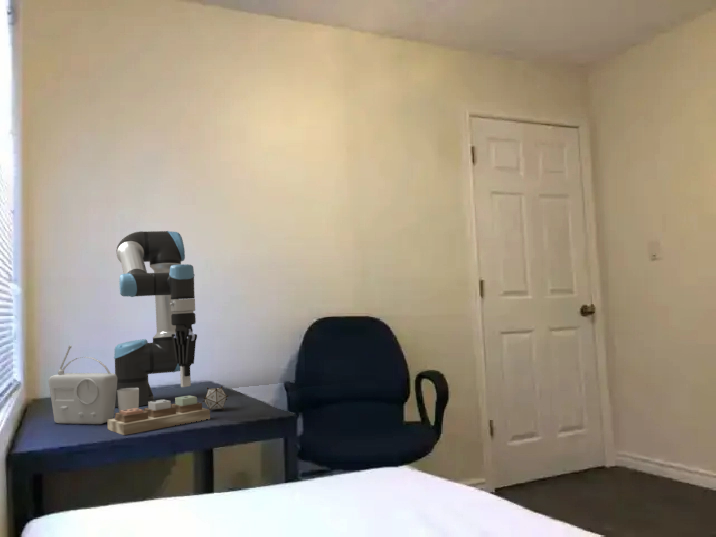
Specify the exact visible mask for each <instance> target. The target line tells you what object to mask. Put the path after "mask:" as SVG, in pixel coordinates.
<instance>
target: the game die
mask: <svg viewBox="0 0 716 537" xmlns="http://www.w3.org/2000/svg"><path fill="white" fill-rule="evenodd" d="M206 389H207V392H206V395H205V397H203V399H204V400H202V402H201V403H204V404H206V406H207V409H209V410H210V411H211V410H213V411H214V410H221V409H222V410H223V411H225V408H224V407H225V403H226V401H227V400H228V398H229V395H227V394H226V393H225V391H224V389H223V385H221V387H216V388H209V387H208V386H207V387H206Z"/></svg>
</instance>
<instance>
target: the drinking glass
mask: <svg viewBox="0 0 716 537" xmlns="http://www.w3.org/2000/svg"><path fill="white" fill-rule="evenodd" d="M117 395H118V407H117V408H118V413H119V412H120V410H127V409H133V408H138V409H140V408H139V407H140V406H139V388H125V389H119V390H117Z"/></svg>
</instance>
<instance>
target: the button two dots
mask: <svg viewBox="0 0 716 537" xmlns="http://www.w3.org/2000/svg"><path fill="white" fill-rule="evenodd" d="M171 404H172V403H171V400H167V399H157V400H154V401H151V402H148V407H147V408H148V409H151V410H161V409H167V408H171Z"/></svg>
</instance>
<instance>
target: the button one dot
mask: <svg viewBox="0 0 716 537" xmlns="http://www.w3.org/2000/svg"><path fill="white" fill-rule="evenodd" d="M174 399H175V400H174V403H175V404H176V405H180V406H185V405H191V404H197V402H198V398H197V396H193V395H184V396H178V397H175V398H174Z"/></svg>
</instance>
